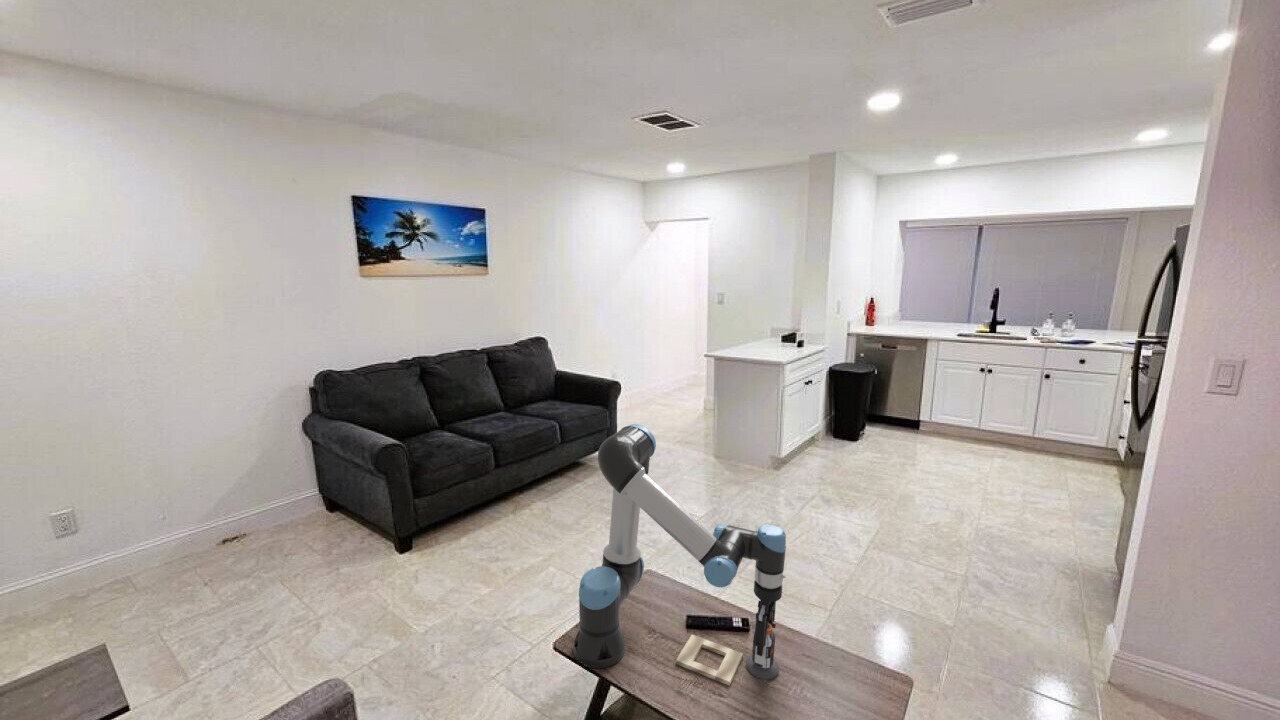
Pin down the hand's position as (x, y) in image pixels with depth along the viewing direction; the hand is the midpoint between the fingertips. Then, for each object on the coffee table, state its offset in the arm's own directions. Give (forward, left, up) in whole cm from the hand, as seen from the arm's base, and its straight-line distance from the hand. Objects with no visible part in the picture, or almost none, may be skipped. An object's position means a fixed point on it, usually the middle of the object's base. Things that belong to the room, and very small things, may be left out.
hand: (762, 655), depth 147 cm
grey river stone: (0, 0, -4) cm, 4 cm away
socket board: (-14, -5, -4) cm, 15 cm away
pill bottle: (0, 0, -2) cm, 2 cm away
